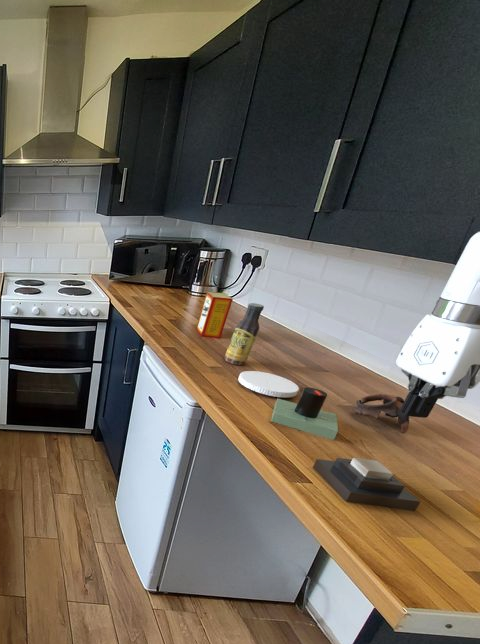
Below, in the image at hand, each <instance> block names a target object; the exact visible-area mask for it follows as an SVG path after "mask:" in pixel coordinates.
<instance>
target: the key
mask: <svg viewBox="0 0 480 644" xmlns="http://www.w3.org/2000/svg"><path fill="white" fill-rule="evenodd" d="M351 460H352V461H351V463H350V465H351V466H352V467H354V468H355V469H356V470H357V471H358V472H359V473H360V474H361V475H363V476H364V477H366V478H374V479H381V480H390V478H391V477H392V476H394V473H393V472H392V471H390V470H389V469H388V468H387V467H385V466H384V465H383V464H382V463H380V461H378V460H376V459H368V458H359V457H352V458H351Z"/></svg>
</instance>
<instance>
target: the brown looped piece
mask: <svg viewBox="0 0 480 644" xmlns="http://www.w3.org/2000/svg"><path fill="white" fill-rule="evenodd" d="M375 401H382V404H371V405H369V404H368V403H370V402H375ZM404 401H405V399H403V397H401V396H395V395H393V394H389V393H388V394H387V393H377V394H370V395H365V396H363V397H361V398H360V399H358V400H356V406H355V408H354V410H353V411H354V413H355V414H356V415H363V416H372V417H374V418H375V419H379V416H380V414H381V412H383V414H384V416H387V417H390V418H392V419H395V418H397V422H396V424H397V425H400V428H401V429H400V433H401V434H405V433H406V432H408V430H409V425H410V416H407V415H405V414H404V413H402V412H400V408H401V406H402V405H403V403H404ZM366 403H367V404H366Z"/></svg>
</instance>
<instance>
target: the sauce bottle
mask: <svg viewBox="0 0 480 644" xmlns="http://www.w3.org/2000/svg"><path fill="white" fill-rule="evenodd" d="M264 307H265V306H264V305H263V304H260V303H256V302H255V303H254V302H250V303H248V305H247V309H246V311H245V314H244V316H243V318H242V319H241V320H240V321H239V322H238V324H237V325H236V327H235V328H234V331H233V333H232V336H231V339H230V340H229V341H230V342H229V344H228V347H227V350H226V352H225V355H224V361H225V362H227V363H228V364H232V365H234V366H244V365H245V364H246V362H247V361H248V359H249V356H250V354H251V351H252V349H253V346H254V344H255V342H256V339H257V335H258V333H259V331H260V323H259V319H260V316H261V313H262V312H263V311H264Z"/></svg>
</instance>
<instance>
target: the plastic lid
mask: <svg viewBox="0 0 480 644" xmlns="http://www.w3.org/2000/svg"><path fill="white" fill-rule="evenodd" d="M238 382H239V383H240V385H241V386H243V387H244V388H247V389H249V390H251V391H253V392H256V393H259V394H261V395H266V396H270V397H275V398H276V397H277V398H284V399H285V398H294V397H296V396H297V395H298V393H299V391H300V387H299V385H297V384H296V383H295V382H294V381H291V380H290V379H288V378H285V377H283V376H279V375H277V374H273V373H269V372H264V371H260V370H259V371H258V370H245V371H241V372H240V373H239V376H238Z"/></svg>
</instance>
